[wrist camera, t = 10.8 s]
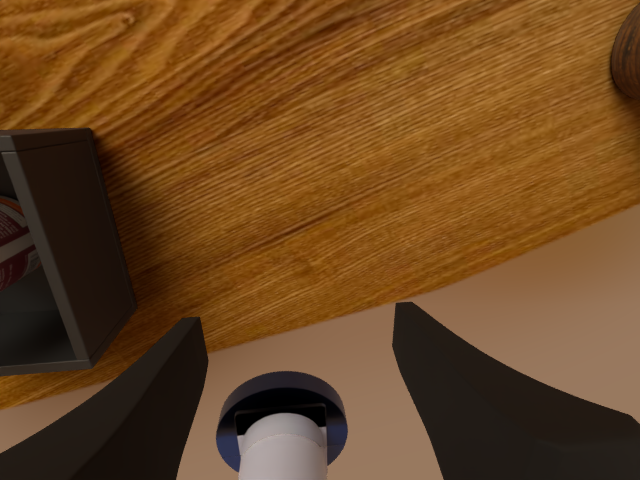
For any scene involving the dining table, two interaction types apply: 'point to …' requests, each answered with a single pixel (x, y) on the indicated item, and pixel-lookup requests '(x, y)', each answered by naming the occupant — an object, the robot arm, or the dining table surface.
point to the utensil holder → (628, 55)
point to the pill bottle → (15, 244)
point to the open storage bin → (61, 255)
